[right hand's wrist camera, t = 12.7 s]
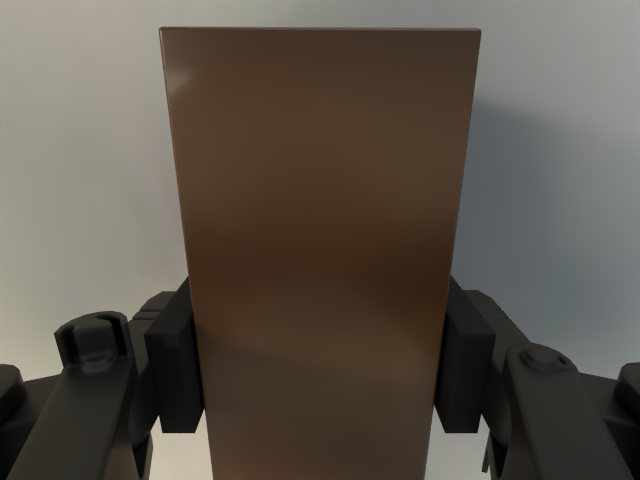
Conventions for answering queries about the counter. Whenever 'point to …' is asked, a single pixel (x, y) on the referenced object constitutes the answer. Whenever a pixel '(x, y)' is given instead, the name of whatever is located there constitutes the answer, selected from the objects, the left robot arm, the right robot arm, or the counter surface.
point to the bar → (319, 237)
